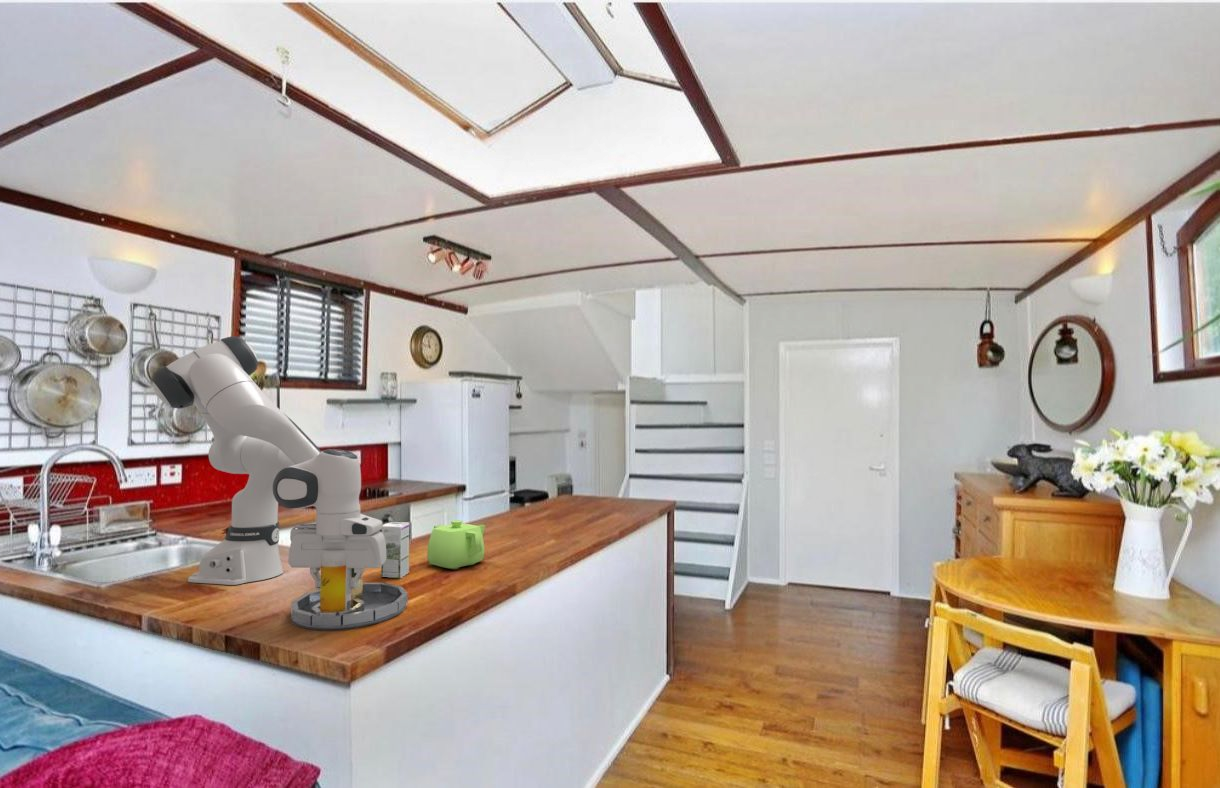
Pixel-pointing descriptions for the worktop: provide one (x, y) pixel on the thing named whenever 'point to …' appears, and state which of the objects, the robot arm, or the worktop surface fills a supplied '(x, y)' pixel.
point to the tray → (366, 608)
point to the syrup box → (396, 549)
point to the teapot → (456, 545)
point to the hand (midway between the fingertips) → (337, 587)
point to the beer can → (335, 581)
